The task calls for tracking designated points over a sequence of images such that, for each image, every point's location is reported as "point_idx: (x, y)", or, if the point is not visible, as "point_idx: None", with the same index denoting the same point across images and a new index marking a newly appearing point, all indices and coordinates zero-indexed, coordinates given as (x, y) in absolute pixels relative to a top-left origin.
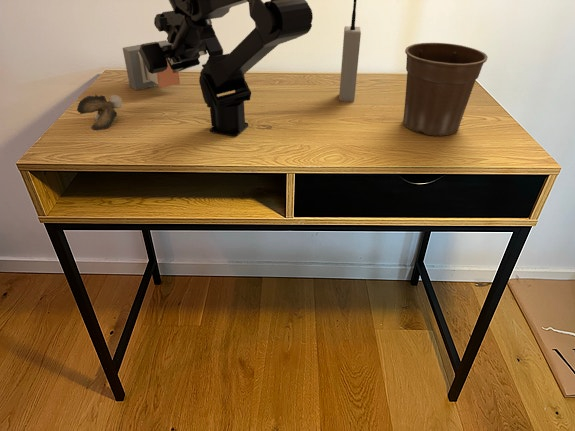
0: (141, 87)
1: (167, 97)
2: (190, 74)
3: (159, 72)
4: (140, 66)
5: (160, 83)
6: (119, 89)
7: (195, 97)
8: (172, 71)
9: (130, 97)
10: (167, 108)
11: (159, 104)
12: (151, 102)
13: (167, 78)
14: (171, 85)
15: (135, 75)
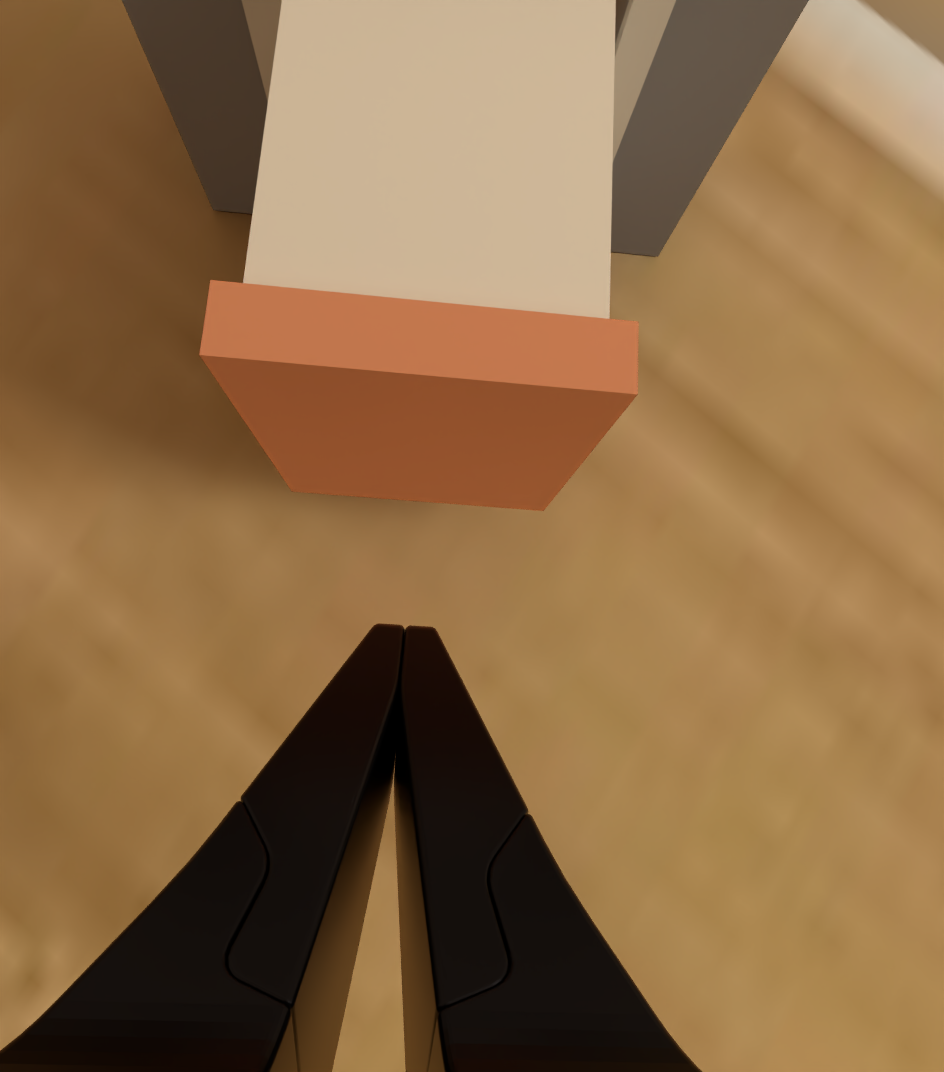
0: None
1: (338, 572)
2: (848, 183)
3: (271, 430)
4: (249, 12)
5: (291, 475)
6: (115, 84)
7: (560, 770)
8: (486, 458)
9: (64, 328)
10: (154, 860)
11: (161, 695)
12: (134, 588)
13: (392, 475)
14: (434, 501)
15: (186, 91)
